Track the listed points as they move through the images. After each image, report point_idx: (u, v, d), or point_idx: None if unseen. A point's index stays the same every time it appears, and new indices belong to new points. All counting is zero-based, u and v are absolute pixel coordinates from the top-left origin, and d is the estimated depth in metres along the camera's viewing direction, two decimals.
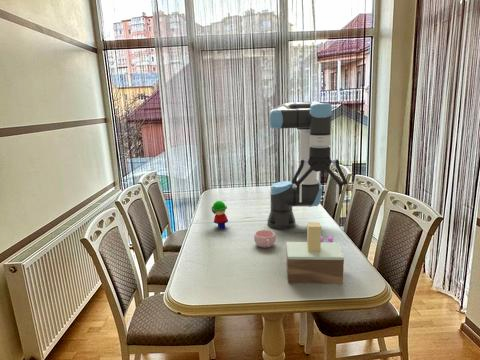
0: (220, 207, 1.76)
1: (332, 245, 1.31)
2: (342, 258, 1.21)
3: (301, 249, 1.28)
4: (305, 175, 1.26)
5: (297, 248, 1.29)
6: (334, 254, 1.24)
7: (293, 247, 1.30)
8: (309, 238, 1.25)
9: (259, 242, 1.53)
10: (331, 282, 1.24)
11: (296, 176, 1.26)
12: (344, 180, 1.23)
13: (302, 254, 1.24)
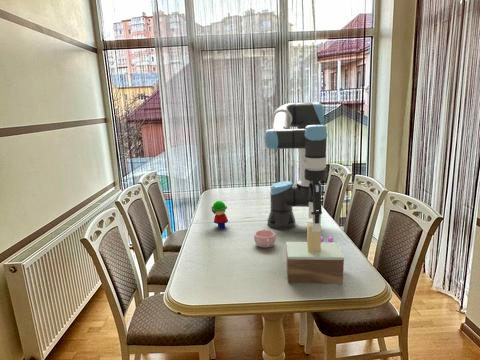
0: (220, 207, 1.76)
1: (332, 245, 1.31)
2: (342, 258, 1.21)
3: (301, 249, 1.28)
4: (309, 193, 1.28)
5: (297, 248, 1.29)
6: (334, 254, 1.24)
7: (293, 247, 1.30)
8: (309, 238, 1.25)
9: (259, 242, 1.53)
10: (331, 282, 1.24)
11: (308, 192, 1.32)
12: (314, 209, 1.15)
13: (302, 254, 1.24)
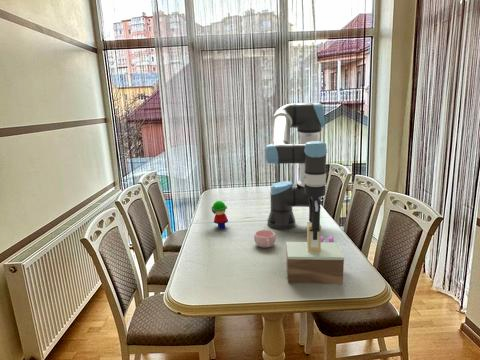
0: (220, 207, 1.76)
1: (332, 245, 1.31)
2: (342, 258, 1.21)
3: (301, 249, 1.28)
4: (310, 213, 1.28)
5: (297, 248, 1.29)
6: (334, 254, 1.24)
7: (293, 247, 1.30)
8: (309, 238, 1.25)
9: (259, 242, 1.53)
10: (331, 282, 1.24)
11: (309, 213, 1.31)
12: (312, 227, 1.21)
13: (302, 254, 1.24)
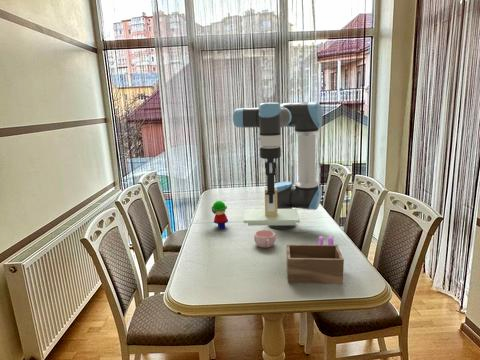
0: (220, 207, 1.76)
1: (290, 210, 1.30)
2: (298, 221, 1.20)
3: (258, 214, 1.27)
4: None
5: (255, 213, 1.27)
6: (291, 217, 1.22)
7: (251, 213, 1.28)
8: (265, 202, 1.23)
9: (259, 242, 1.53)
10: (331, 282, 1.24)
11: None
12: None
13: (258, 218, 1.22)
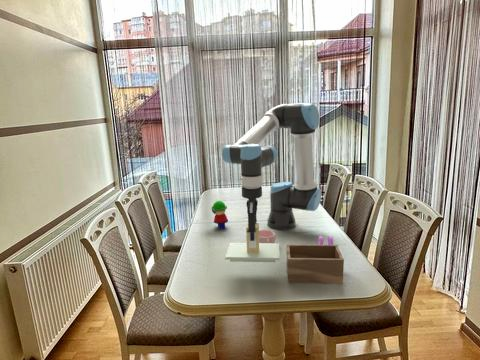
0: (220, 207, 1.76)
1: (272, 246, 1.33)
2: (277, 259, 1.23)
3: (241, 249, 1.31)
4: None
5: (237, 249, 1.32)
6: (271, 254, 1.26)
7: (234, 248, 1.33)
8: (247, 239, 1.27)
9: (259, 242, 1.53)
10: (331, 282, 1.24)
11: None
12: (248, 228, 1.23)
13: (240, 255, 1.27)
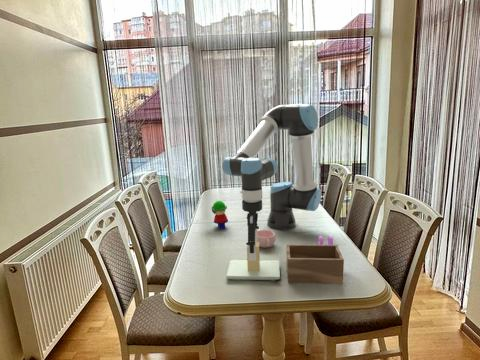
0: (220, 207, 1.76)
1: (273, 263, 1.35)
2: (278, 277, 1.25)
3: (241, 267, 1.33)
4: None
5: (238, 267, 1.34)
6: (272, 273, 1.28)
7: (235, 265, 1.34)
8: (248, 258, 1.29)
9: (259, 242, 1.53)
10: (331, 282, 1.24)
11: None
12: (248, 240, 1.20)
13: (241, 273, 1.28)
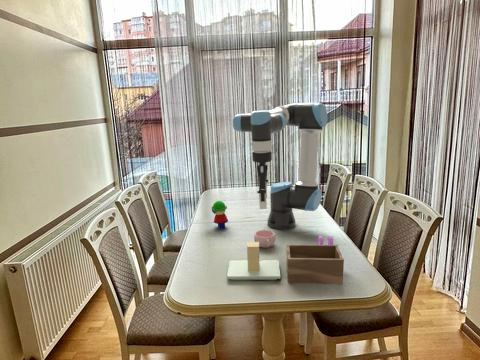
0: (220, 207, 1.76)
1: (272, 263, 1.36)
2: (278, 277, 1.26)
3: (241, 268, 1.33)
4: None
5: (238, 267, 1.33)
6: (272, 272, 1.28)
7: (235, 266, 1.34)
8: (248, 258, 1.29)
9: (259, 242, 1.53)
10: (331, 282, 1.24)
11: None
12: (259, 188, 1.25)
13: (241, 273, 1.28)
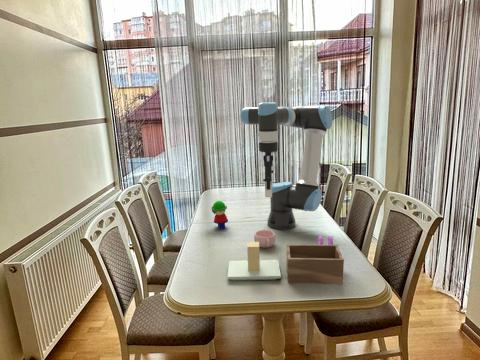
0: (220, 207, 1.76)
1: (272, 263, 1.36)
2: (279, 276, 1.26)
3: (241, 268, 1.32)
4: None
5: (238, 267, 1.33)
6: (272, 272, 1.28)
7: (234, 266, 1.34)
8: (248, 258, 1.29)
9: (259, 242, 1.53)
10: (331, 282, 1.24)
11: None
12: (265, 176, 1.30)
13: (242, 274, 1.28)
